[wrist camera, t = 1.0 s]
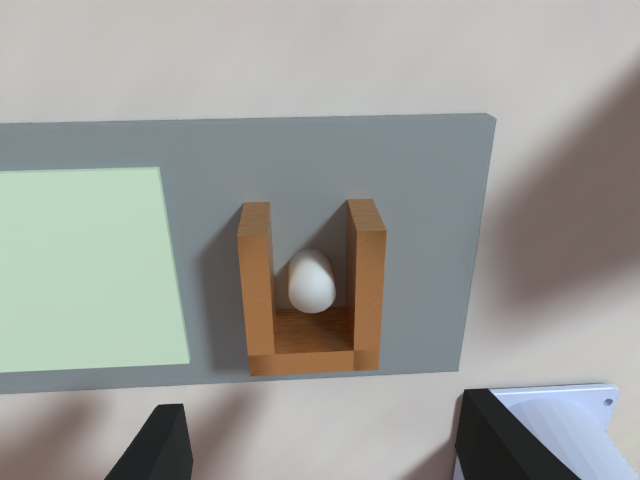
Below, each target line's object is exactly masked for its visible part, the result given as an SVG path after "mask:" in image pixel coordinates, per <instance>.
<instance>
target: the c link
mask: <svg viewBox="0 0 640 480" xmlns="http://www.w3.org/2000/svg"><path fill="white" fill-rule="evenodd" d="M386 236H387V230H386V228H385V225H384V223H383V221H382V219H381V216H380V214H379V212H378V210H377V208H376V205H375V203H374V201H373V199H347V231H346V288H345V306H342V307H328V308H327V309H325V310H323V311H321V312H318V313H305V312H302V311H300V310H298V309H297V308H294V309H276V294H275V277H274V260H273V243H272V226H271V209H270V202H244V205H243V210H242V214H241V219H240V223H239V228H238V232H237V244H238V255H239V265H240V276H241V286H242V297H243V307H244V318H245V329H246V339H247V350H248V360H249V371H250V376H265V375H285V374H305V373H325V372H346V371H366V370H379V356H380V339H381V322H382V305H383V288H384V270H385V253H386Z"/></svg>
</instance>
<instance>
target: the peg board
mask: <svg viewBox="0 0 640 480" xmlns="http://www.w3.org/2000/svg"><path fill="white" fill-rule="evenodd" d="M495 125H496V118H494V117H492V116H490V115H489V114H487V113H478V114H432V115H385V116H338V117H292V118H245V119H199V120H152V121H105V122H59V123H12V124H0V394H15V393H35V392H55V391H75V390H95V389H115V388H135V387H155V386H175V385H195V384H215V383H234V382H254V381H274V380H294V379H314V378H334V377H354V376H374V375H394V374H414V373H434V372H454V371H458V368H459V361H460V355H461V348H462V342H463V335H464V329H465V322H466V315H467V309H468V302H469V296H470V289H471V283H472V276H473V270H474V263H475V256H476V250H477V243H478V237H479V230H480V224H481V217H482V211H483V204H484V197H485V191H486V184H487V178H488V171H489V165H490V158H491V152H492V145H493V139H494V132H495ZM347 199H373V201H374V203H375V205H376V208H377V210H378V212H379V214H380V216H381V219H382V221H383V223H384V225H385V228H386V230H387V236H386V253H385V270H384V288H383V305H382V322H381V339H380V356H379V370H366V371H346V372H325V373H305V374H285V375H265V376H250V371H249V360H248V350H247V339H246V329H245V318H244V307H243V297H242V286H241V276H240V265H239V255H238V244H237V232H238V228H239V223H240V219H241V214H242V210H243V205H244V202H270V209H271V226H272V243H273V260H274V277H275V294H276V309H294V308H297V309H298V310H300V311H302V312H305V313H318V312H321V311H323V310H325V309H327V308H328V307H342V306H345V288H346V231H347Z"/></svg>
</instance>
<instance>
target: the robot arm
mask: <svg viewBox="0 0 640 480" xmlns="http://www.w3.org/2000/svg"><path fill="white" fill-rule="evenodd" d="M618 396H619V390H618V388H617V387H616V386H615V385H614V384H611V383H604V384H585V385H566V386H546V387H527V388H508V389H488V388H486V389H466V390H464V395H463V401H462V407H461V413H460V419H459V425H458V431H457V437H456V443H455V448H456V451H457V458H456V464H455V469H454V475H453V480H640V478H639V476H638V475H637V474H636V472H635V471H634V470H633V468H632V467H631V466H630V464H629V463H628V462H627V460H626V459H625V458H624V456H623V455H622V454H621V452H620V451H619V450H618V448H617V447H616V446H615V444H614V443H613V442H612V440H611V439H610V438H609V436H608V435H607V434H606V430H607V427H608V424H609V421H610V418H611V416H612V413H613V410H614V407H615V404H616V401H617V399H618ZM192 465H193V457H192V451H191V446H190V440H189V434H188V428H187V423H186V417H185V411H184V406H183V404H163V405H158V406H157V407H156V408H155V409H154V410H153V412H152V413H151V415H150V416H149V418H148V419H147V421H146V422H145V424H144V425H143V427H142V428H141V430H140V431H139V433H138V434H137V435H136V437H135V438H134V440H133V441H132V443H131V444H130V445H129V447H128V448H127V450H126V451H125V452H124V454H123V455H122V456H121V458H120V459H119V460H118V462H117V463H116V464H115V466H114V467H113V468H112V470H111V471H110V472H109V474H108V475H107V476H106V478H105V479H104V480H191V473H192Z"/></svg>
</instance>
